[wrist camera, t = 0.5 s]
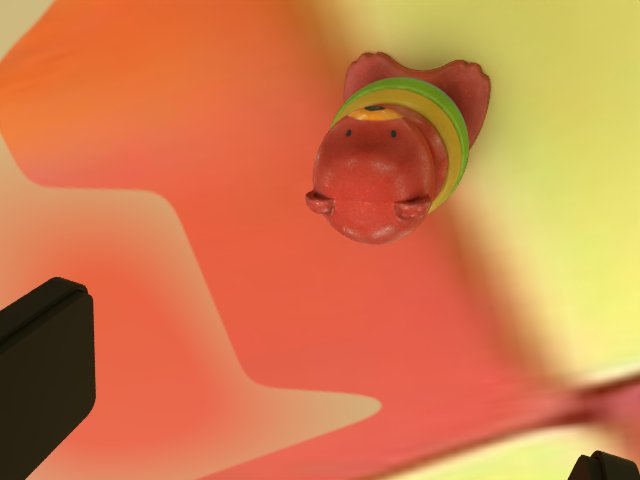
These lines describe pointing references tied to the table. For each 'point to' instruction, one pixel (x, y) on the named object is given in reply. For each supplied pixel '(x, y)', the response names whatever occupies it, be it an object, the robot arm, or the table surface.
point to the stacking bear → (396, 146)
